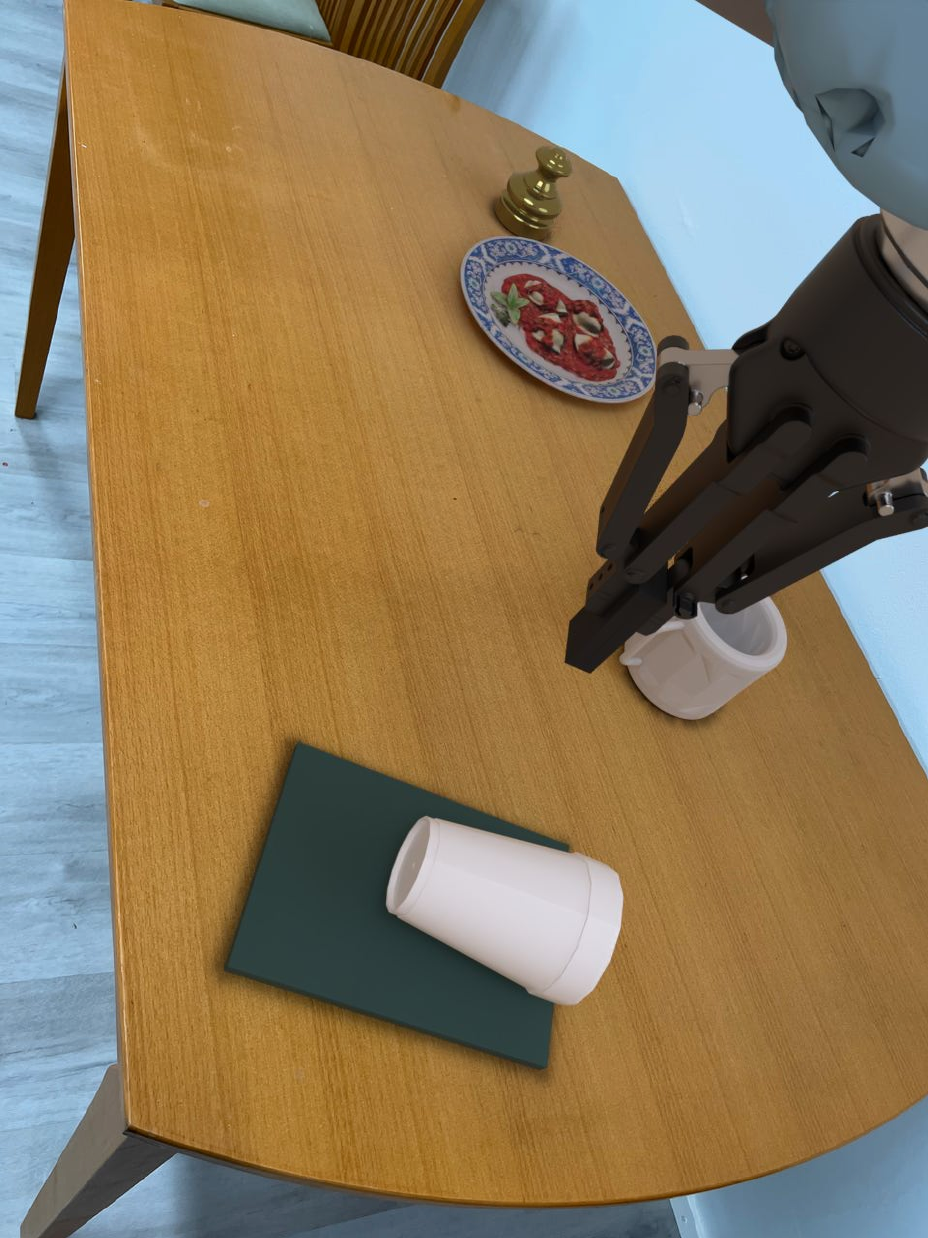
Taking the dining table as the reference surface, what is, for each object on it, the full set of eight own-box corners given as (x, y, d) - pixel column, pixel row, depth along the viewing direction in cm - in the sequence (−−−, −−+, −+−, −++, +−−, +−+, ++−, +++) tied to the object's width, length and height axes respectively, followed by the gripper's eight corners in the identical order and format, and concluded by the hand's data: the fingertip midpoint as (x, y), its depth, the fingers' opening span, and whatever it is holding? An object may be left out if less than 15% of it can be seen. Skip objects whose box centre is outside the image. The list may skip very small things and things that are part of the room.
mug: (690, 618, 95) (756, 560, 88) (736, 717, 91) (810, 664, 83) (580, 623, 88) (643, 560, 81) (624, 730, 84) (694, 674, 76)
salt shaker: (484, 197, 121) (522, 125, 114) (531, 205, 125) (570, 136, 118) (507, 239, 118) (548, 167, 111) (554, 245, 122) (597, 176, 115)
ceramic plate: (645, 310, 124) (659, 292, 121) (651, 448, 108) (666, 430, 106) (463, 219, 116) (474, 198, 114) (441, 353, 100) (453, 331, 98)
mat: (223, 970, 59) (227, 966, 58) (294, 747, 69) (298, 741, 68) (540, 1070, 64) (547, 1068, 63) (562, 849, 74) (569, 845, 73)
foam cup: (364, 926, 65) (533, 990, 68) (397, 950, 56) (590, 1022, 59) (416, 791, 67) (577, 858, 70) (456, 794, 58) (638, 870, 61)
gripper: (1077, 309, 35) (688, 639, 53) (788, 127, 32) (475, 541, 50) (1134, 442, 31) (686, 756, 48) (802, 243, 28) (451, 656, 45)
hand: (579, 647), depth 49 cm, fingers closed
